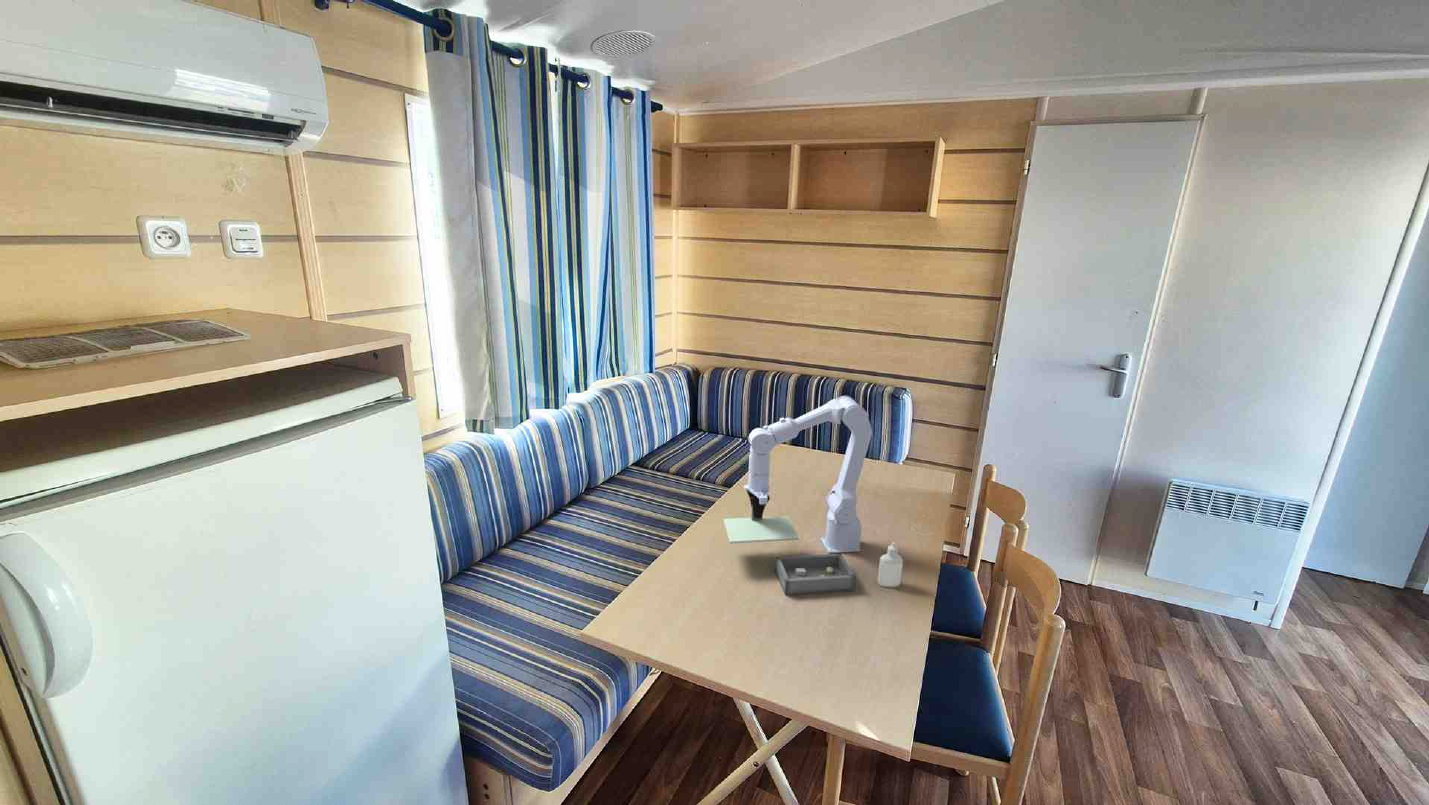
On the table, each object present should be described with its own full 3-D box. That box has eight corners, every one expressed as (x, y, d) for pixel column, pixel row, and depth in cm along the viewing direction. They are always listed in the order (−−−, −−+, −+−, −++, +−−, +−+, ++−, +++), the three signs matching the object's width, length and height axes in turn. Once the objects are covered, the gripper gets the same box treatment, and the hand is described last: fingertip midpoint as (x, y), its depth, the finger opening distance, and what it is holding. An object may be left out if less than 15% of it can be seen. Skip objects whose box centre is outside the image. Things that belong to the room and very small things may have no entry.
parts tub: (839, 566, 156) (840, 553, 155) (854, 590, 146) (855, 577, 145) (775, 570, 154) (775, 557, 153) (785, 595, 144) (785, 581, 142)
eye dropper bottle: (898, 591, 146) (903, 549, 143) (875, 585, 148) (880, 544, 145) (901, 582, 150) (906, 541, 146) (879, 576, 152) (883, 536, 149)
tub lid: (787, 519, 164) (788, 503, 163) (798, 541, 153) (799, 524, 152) (723, 522, 162) (723, 506, 160) (729, 545, 151) (730, 528, 149)
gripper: (740, 461, 164) (738, 504, 168) (749, 483, 150) (747, 529, 154) (764, 461, 165) (762, 503, 169) (776, 482, 151) (773, 528, 155)
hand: (757, 516), depth 162 cm, fingers closed on tub lid
